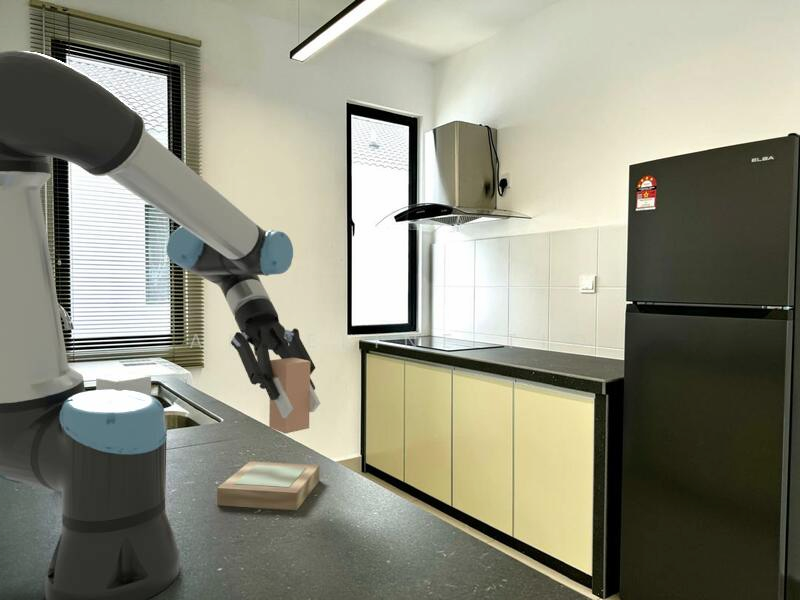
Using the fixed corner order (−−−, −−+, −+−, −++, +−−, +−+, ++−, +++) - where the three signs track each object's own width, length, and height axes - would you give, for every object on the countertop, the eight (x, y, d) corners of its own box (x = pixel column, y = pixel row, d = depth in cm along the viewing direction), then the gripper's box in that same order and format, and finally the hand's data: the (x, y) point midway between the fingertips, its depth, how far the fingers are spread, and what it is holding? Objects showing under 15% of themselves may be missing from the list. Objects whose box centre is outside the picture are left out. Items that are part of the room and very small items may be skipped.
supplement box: (152, 437, 133) (152, 376, 133) (117, 446, 126) (116, 381, 125) (130, 431, 138) (130, 372, 138) (95, 439, 131) (95, 377, 130)
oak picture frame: (296, 510, 91) (296, 492, 91) (217, 505, 93) (217, 487, 93) (319, 480, 105) (319, 464, 105) (249, 476, 107) (249, 460, 107)
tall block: (285, 433, 94) (286, 364, 93) (269, 427, 97) (270, 360, 96) (309, 428, 97) (310, 361, 97) (292, 422, 101) (294, 357, 100)
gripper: (284, 319, 113) (333, 414, 103) (201, 324, 100) (246, 432, 90) (300, 295, 109) (352, 390, 99) (215, 296, 96) (264, 406, 86)
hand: (301, 410), depth 94 cm, fingers closed on tall block, 5 cm apart
